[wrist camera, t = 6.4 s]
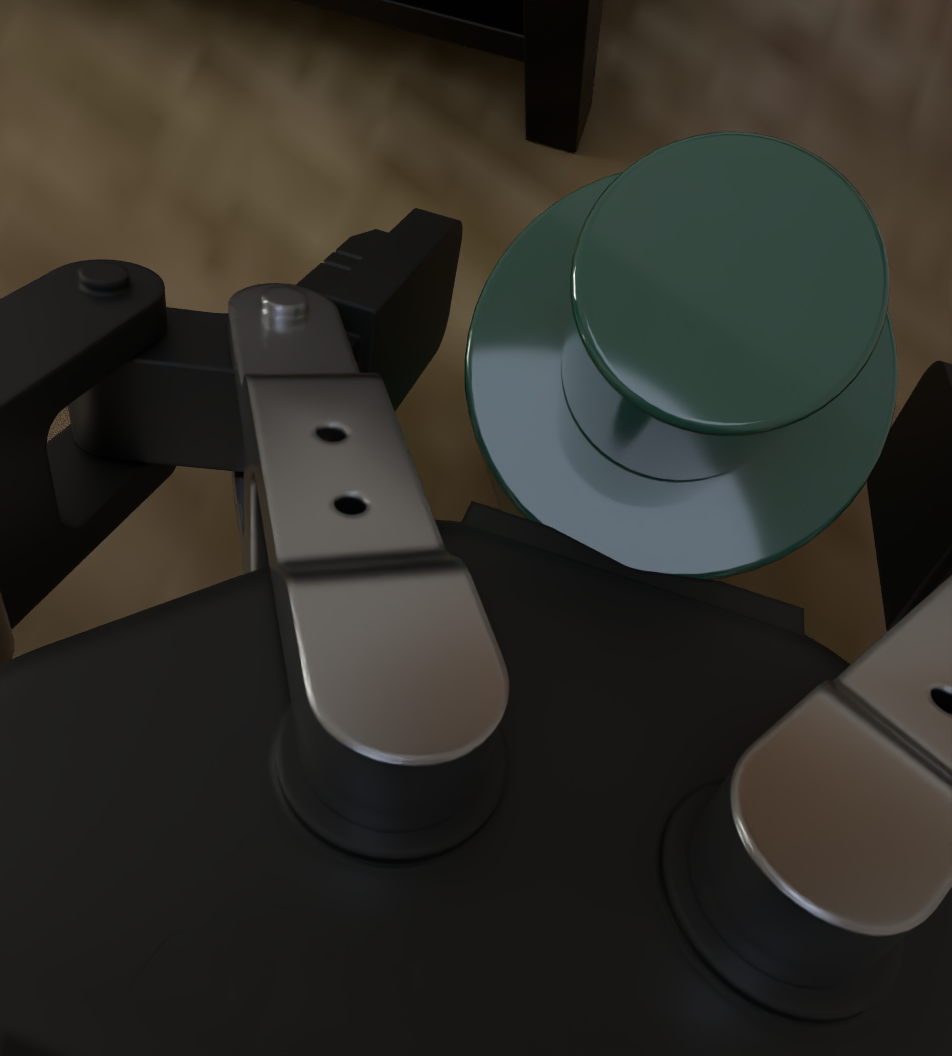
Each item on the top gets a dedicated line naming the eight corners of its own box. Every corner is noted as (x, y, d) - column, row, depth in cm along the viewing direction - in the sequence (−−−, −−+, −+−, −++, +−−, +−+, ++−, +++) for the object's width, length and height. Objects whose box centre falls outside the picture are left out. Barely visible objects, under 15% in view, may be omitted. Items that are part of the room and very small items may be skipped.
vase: (469, 555, 18) (361, 466, 7) (537, 350, 19) (541, -58, 7) (682, 625, 18) (942, 652, 6) (748, 414, 18) (1107, 85, 7)
